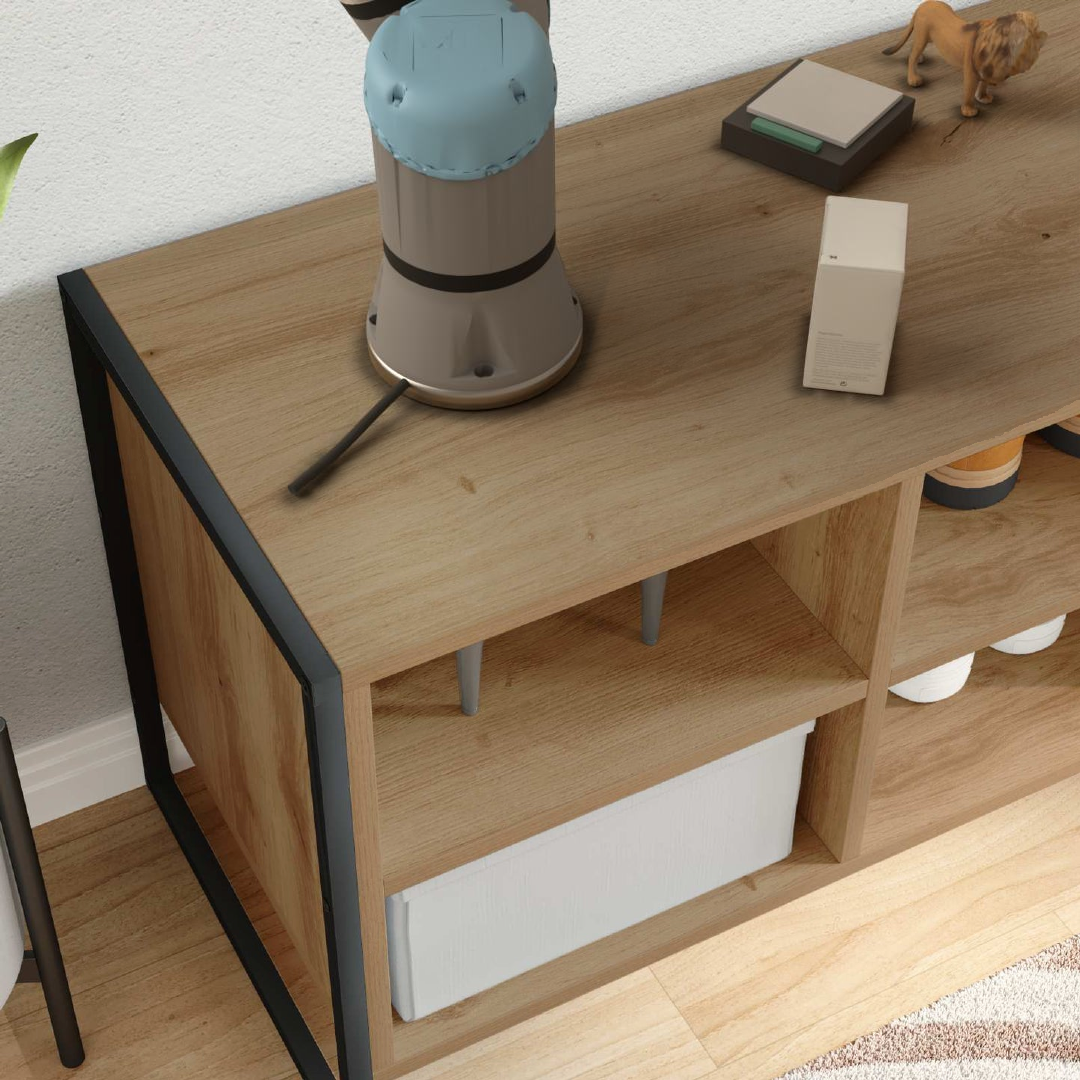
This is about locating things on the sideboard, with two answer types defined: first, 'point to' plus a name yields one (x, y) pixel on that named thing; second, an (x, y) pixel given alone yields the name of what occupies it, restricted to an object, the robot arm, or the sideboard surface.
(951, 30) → the lion figurine
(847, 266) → the small box
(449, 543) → the sideboard surface
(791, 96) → the scale
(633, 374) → the sideboard surface
